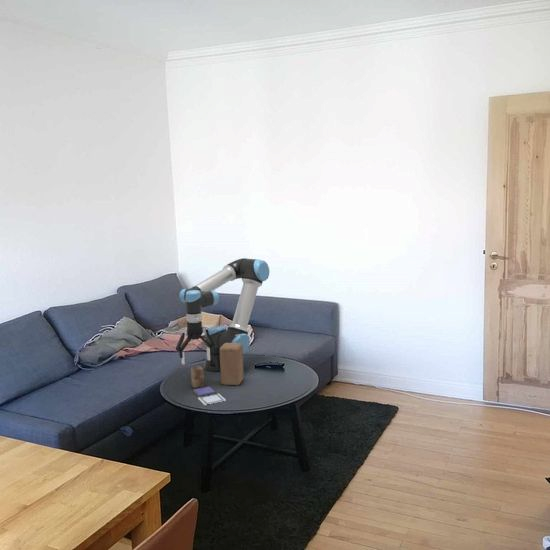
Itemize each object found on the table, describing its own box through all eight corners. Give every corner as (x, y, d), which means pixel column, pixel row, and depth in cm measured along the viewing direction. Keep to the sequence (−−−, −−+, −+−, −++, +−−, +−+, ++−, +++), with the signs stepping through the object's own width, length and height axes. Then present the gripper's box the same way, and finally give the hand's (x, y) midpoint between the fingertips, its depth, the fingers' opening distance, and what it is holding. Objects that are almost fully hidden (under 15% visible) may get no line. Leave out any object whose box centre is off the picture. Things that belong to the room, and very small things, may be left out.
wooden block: (239, 385, 296) (237, 348, 293) (220, 385, 298) (218, 347, 295) (244, 379, 306) (242, 342, 303) (226, 378, 308) (224, 342, 305)
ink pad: (209, 388, 294) (209, 386, 294) (216, 394, 286) (216, 391, 286) (193, 391, 290) (192, 389, 290) (198, 397, 282) (198, 395, 282)
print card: (218, 394, 286) (218, 393, 286) (226, 400, 277) (226, 399, 277) (197, 398, 281) (197, 397, 281) (204, 405, 272) (204, 404, 272)
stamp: (200, 384, 300) (199, 365, 299) (204, 387, 296) (203, 368, 294) (191, 386, 298) (190, 367, 296) (194, 389, 294) (193, 370, 292)
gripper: (172, 325, 282) (174, 367, 286) (220, 319, 293) (221, 359, 297) (168, 322, 289) (170, 363, 292) (214, 316, 300) (216, 356, 303)
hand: (196, 361), depth 294 cm, fingers open, 13 cm apart
